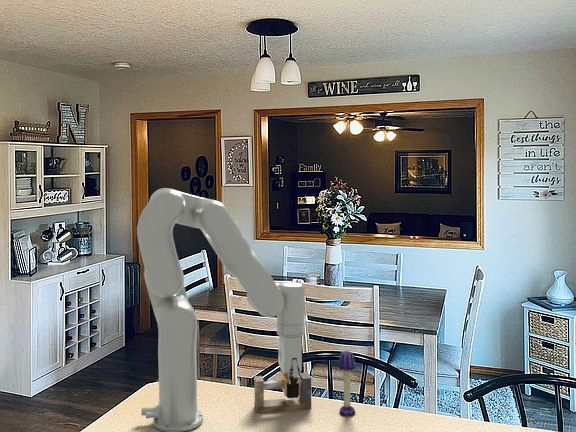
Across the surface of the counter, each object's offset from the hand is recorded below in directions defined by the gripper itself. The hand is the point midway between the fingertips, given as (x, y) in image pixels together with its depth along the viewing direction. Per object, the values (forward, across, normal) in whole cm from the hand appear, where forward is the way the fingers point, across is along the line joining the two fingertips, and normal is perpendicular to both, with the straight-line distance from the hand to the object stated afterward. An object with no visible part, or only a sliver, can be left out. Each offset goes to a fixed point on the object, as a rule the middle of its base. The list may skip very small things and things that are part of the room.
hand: (290, 392), depth 155 cm
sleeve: (0, 0, 0) cm, 0 cm away
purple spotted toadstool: (+4, +7, +14) cm, 16 cm away
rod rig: (+4, 0, -2) cm, 5 cm away
